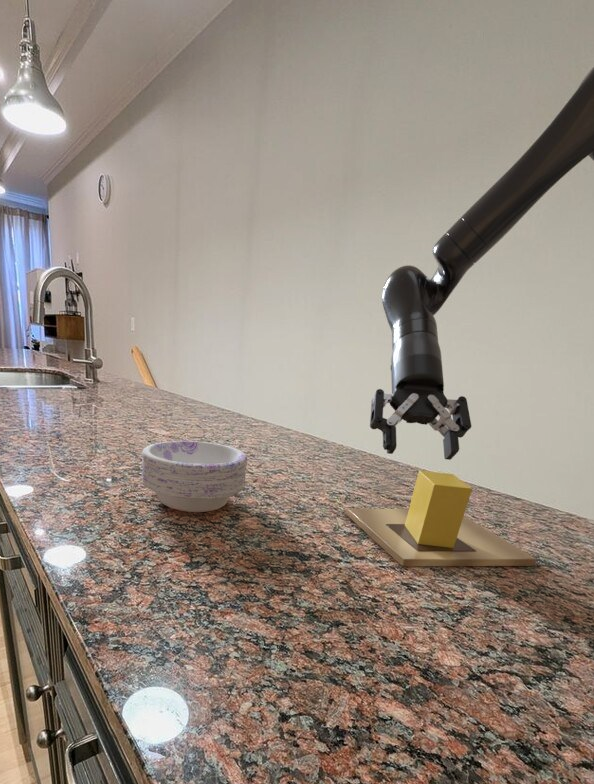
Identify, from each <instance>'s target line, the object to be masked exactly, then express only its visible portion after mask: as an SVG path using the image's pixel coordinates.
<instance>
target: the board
mask: <svg viewBox="0 0 594 784" xmlns="http://www.w3.org/2000/svg"><path fill="white" fill-rule="evenodd" d="M408 511H409V508H355V507H354V508H353V507H352V508H351V507H347V508H346V513H345V514H346V516H347V517H348V518H350V520H351V521H353V522H354V523H355V524H356V525H357V526H358V527H359V528H360V529H361V530H362V531H364V533H365V534H367V535H368V536H369V538H371V539H372V540H373V541H374V542H375V543H376V544H377V545H378V546H379V547H381V548H382V549H383V550H384V551H385V552H386V553H387V554H388V555H389V556H391V558H393V559H394V560H395V561H396V562H397V563H398V564H399V565H400V566H401V567H534V566H535V565H536V563H537V560H538V559H537V558H536V557H534V556H532V555H531V554H529V552H528V553H527V552H526V551H525V550H523V549H521V548H520V547H518V546H516V545H514V544H512V543H511V542H509V541H507V540H506V539H505V538H503V537H501V536H499V535H497V534H496V533H494V532H492V531H491V530H489V529H488V528H485V527H484V526H482V525H481V524H478V523H477V522H475V521H474V520H472V519H470V518H469V517H467V516H465V515H464V517H463V520H462V523H461V526H460V529H459V532H458V536H457V539H456V542H455V545H454V548H448V547H440V546H431V545H423V544H418V543H417V542H416V540H415V539H414V538H413V536H412V535H411V534H410V532H409V531H408V529H407V528H406V527H405V522H406V518H407V515H408Z"/></svg>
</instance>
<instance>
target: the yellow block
mask: <svg viewBox="0 0 594 784" xmlns="http://www.w3.org/2000/svg"><path fill="white" fill-rule="evenodd" d="M472 491H473V488H472V487H471V486H470V485H468V484H467V483H466V482H464V481H463V480H461V478H459V477H458V476H457V475H455V474H454V473H449V472H448V473H446V472H438V471H437V472H436V471H427V470H419V471H418V473H417V477H416V481H415V484H414V488H413V492H412V496H411V500H410V505H409V507H408V509H409V511H408V515H407V518H406V522H405V527H406V528H407V529H408V531H409V532H410V534H411V535H412V536H413V538H414V539H415V540H416V542H417V543H418V544H423V545H431V546H440V547H448V548H454V545H455V542H456V539H457V536H458V532H459V529H460V526H461V523H462V520H463V517H464V516H465V514H466V511H467V507H468V504H469V500H470V497H471V494H472Z"/></svg>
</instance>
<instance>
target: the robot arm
mask: <svg viewBox="0 0 594 784" xmlns="http://www.w3.org/2000/svg"><path fill="white" fill-rule="evenodd" d="M587 157H589V158H590V159H591V160H592V161H593V162H594V66H593V67H592V68H591V69H590V70H589V71H588V73H586V75H585V76H584V78H583V79H582V81H581V82H580V84H579V86H578V87H577V89H576V90H575V92H574V93H573V94H572V96H571V97H570V98H569V100H567V102H566V103H565V104H564V106H563V108H561V110H560V111H559V113H558V114H557V115H555V117H554V119H553V120H551V122H550V124H549V125H548V126H547V127H546V128H545V129H544V131H543V132H541V134H540V135H539V137H537V139H535V141H534V142H533V143H532V144H531V146H530V147H529V148H528V149H527V150H526V151H525V152H524V153H523V154H522V155H521V156H520V157H519V159H517V160H516V162H515V163H514V164H513V165H512V166H511V167H510V168H509V169H508V170H507V171H506V172H505V173H504V174H503V175H502V176H501V177H500V178H499V179H498V180H497V181H496V182H495V183H494V184H493V185H491V187H490V188H489V189H488V190H487V191H486V192H485V193H483V195H482V196H480V197H479V198H478V200H477V201H475V202H474V203H473V205H472V206H470V207H469V208H468V209H467V211H466V212H465V213H463V215H461V216H460V218H459V219H457V220H456V222H455V223H454V224H453V225H452V226H451V227H450V228H449V229H448V230H447V231H446V233H444V234H443V235H441V237H440V238H439V239H438V240H437V241H436V242H435V244H434V245H433V248H432V255H433V258H434V260H435V262H436V263H437V267H436V270H435V272H434V274H433V275H432V276H431V278H429V277H428V276H427V275H426V274H425V273H424V272H423V271H422V270H421V269H419V268H418V267H416V266H415V265H409V264H407V265H402V266H400V267H397V268H396V269H395V270H393V271H392V272H391V273H390V275H388V277H387V278H386V280H385V283H384V284H383V288H382V292H381V301H382V303H381V304H382V308H383V312H384V313H385V318H386V320H387V323H388V326H389V329H390V331H391V345H392V346H391V349H392V351H391V359H390V375H391V376H390V377H391V394H389V393H385V391H384V389H381V388H378V389H376V391H375V393H374V395H373V397H372V399H371V406H370V420H369V421H370V422H369V427H370V429H371V430H379V431H381V433H382V447H383V450H384V451H386V454H389V455H393V453H395V451H396V450H397V446H398V445H397V426H398V425H399V424H400V423H401V422H402V421H405V422H406V424H416V423H417V424H420V425H426V426H427V425H429V426H430V427H431V428H432V429H433V431H438V432H439V434H440V435H441V436H442V437H443V439H442V444H443V456H444V458H443V459H444V460H448V461H451V460H452V459H453V458H454V457H455V456H456V455H458V452H459V451H460V443H459V438H461V439H462V438H463V437H464V436H465V435H466V434H467V432H468V431H469V430H470V429H471V428H472V422H471V416H470V410H469V405H468V400H467V397H465V396H463V395H461V396H459V397H458V398H457V399H448V398H447V397H446V395H445V393H444V390H445V389H444V388H445V383H444V370H443V360H442V351H441V347H440V344H439V335H438V325H437V324H438V323H437V321H436V317H435V315H436V314H437V313H438V312H439V311H440V310H441V309H442V307H443V306H444V304H445V303H446V302H447V300H448V299H449V297H450V296H451V294H452V293H453V292H454V290H455V289H456V287H458V284H459V283H460V282H461V280H462V279H463V277H464V276H465V275H466V273H467V272H468V271H469V270H470V269H471V268H472V267H473V266H475V264H476V263H478V262H479V261H480V260H481V259H482V258H483V257H484V256H485V255H486V254H487V253H488V252H489V251H491V249H492V248H494V247H495V246H496V245H497V244H498V243H499V242H500V241H501V240H502V239H503V238H504V237H505V236H506V235H507V234H508V233H509V232H510V231H511V230H512V229H513V228H514V227H515V226H516V225H517V224H518V223H519V221H521V219H522V218H523V217H524V216H525V215H526V214H527V213H528V212H529V211H530V210H531V209H532V208H533V207H534V206H535V205H536V204H537V202H538V201H539V200H541V198H543V196H544V195H545V194H547V192H548V191H549V190H550V189H552V187H554V186H555V185H556V184H557V183H558V182H559V181H560V180H561V179H562V178H564V176H566V175H567V174H568V173H569V172H570V171H571V170H572V169H574V168H575V167H576V166H577V165H579V163H581V162H582V161H583V160H585V159H586V158H587ZM387 404H389V405H390V407H391V408H392V409H393V410H394V412H393V413H392V414H391V415H390V416H389V417H388V418H385V417H384V408H385V407H386V405H387ZM437 417H439V419H437Z"/></svg>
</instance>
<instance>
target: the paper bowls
mask: <svg viewBox="0 0 594 784" xmlns="http://www.w3.org/2000/svg"><path fill="white" fill-rule="evenodd" d="M141 456H142V458H141V460H142V461H141V481H142V485H143V486H144V487H145V488H147V489H148V490H150V491H152V492H154V493H155V496H156V498H157V499H158V500H159V503H161V504H163V505H164V506H166V507H168V508H170V509H173V510H175V511H176V510H177V511H181V512H186V513H208V512H212V511H216V510H218V509H221V508H223V507H224V506H225V505H226V504H227V503H228V502H229V500H230V498H231V497H232V496H236V495H238V494H240V493H241V492H242V491H244V489H245V485H246V483H245V482H246V476H247V472H246V471H247V465H248V456H247V455H246V453H244V451H242V450H240V449H238V448H235V447H233V446H229V445H225V444H221V443H214V442H207V441H195V440H194V441H193V440H174V441H162V442H156V443H152V444H149V445H147V446H145V447H144V448H143V450H142V453H141Z"/></svg>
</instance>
